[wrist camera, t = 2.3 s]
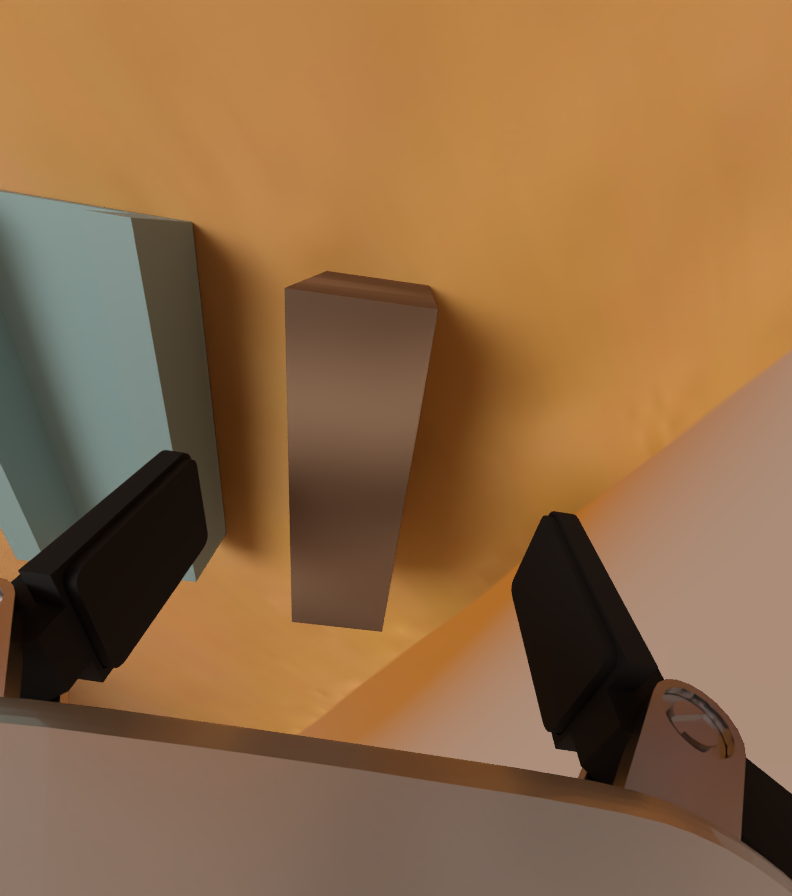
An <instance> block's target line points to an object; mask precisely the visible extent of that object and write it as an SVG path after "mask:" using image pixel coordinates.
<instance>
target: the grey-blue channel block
mask: <svg viewBox="0 0 792 896" xmlns="http://www.w3.org/2000/svg"><path fill="white" fill-rule="evenodd" d="M163 450H170V451H176V452H183V453H187V454H189V455H190V456H191V459H192V460H195V461H196V463H197V468H198V474H199V480H200V487H201V493H202V499H203V506H204V512H205V519H206V525H207V531H208V538H207V542H206V545H205V547H204V548H203V550H202V551H201V553H200V554H199V555H198V557H197V558H196V560H195V561H194V563H193V564H192V566H191V567H190V568H189V570H188V571H187V573H186V574H185V576H184V577H183V578H182V580H185V581H193V582H196V581H197V580H198V578H199V576H200V575H201V573H202V572H203V570H204V568H205V567H206V565H207V564H208V562H209V560H210V559H211V557H212V556H213V554H214V552H215V551H216V549H217V548H218V546H219V544H220V543H221V541H222V540H223V538H224V536H225V535H226V527H225V518H224V509H223V500H222V490H221V481H220V472H219V463H218V454H217V445H216V436H215V426H214V417H213V408H212V399H211V390H210V381H209V372H208V362H207V353H206V344H205V335H204V326H203V317H202V307H201V298H200V289H199V280H198V271H197V262H196V253H195V243H194V234H193V225H192V222H188V221H182V220H176V219H170V218H164V217H158V216H153V215H147V214H141V213H135V212H129V211H123V210H117V209H111V208H105V207H99V206H93V205H87V204H81V203H75V202H69V201H63V200H57V199H51V198H45V197H40V196H34V195H28V194H22V193H16V192H10V191H4V190H0V527H1V529H2V531H3V533H4V535H5V537H6V539H7V541H8V543H9V545H10V547H11V549H12V551H13V553H14V555H15V557H16V559H20V560H27V561H30V560H31V559H33V558H34V557H35V556H36V555H37V554H39V553H40V552H41V551H42V550H43V549H45V548H46V547H47V546H48V545H49V544H50V543H52V542H53V541H54V540H55V539H56V538H58V537H59V536H60V535H61V534H62V533H64V532H65V531H66V530H67V529H68V528H70V527H71V526H72V525H73V524H74V523H76V522H77V521H78V520H79V519H80V518H82V517H83V516H84V515H85V514H86V513H88V512H89V511H90V510H91V509H92V508H94V507H95V506H96V505H97V504H98V503H100V502H101V501H102V500H103V499H104V498H106V497H107V496H108V495H109V494H110V493H112V492H113V491H114V490H115V489H116V488H118V487H119V486H120V485H121V484H122V483H124V482H125V481H126V480H127V479H128V478H129V477H131V476H132V475H133V474H134V473H135V472H137V471H138V470H139V469H140V468H141V467H143V466H144V465H145V464H146V463H147V462H149V461H150V460H151V459H152V458H153V457H155V456H156V455H157V454H158V453H159V452H161V451H163Z"/></svg>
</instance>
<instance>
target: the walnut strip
mask: <svg viewBox="0 0 792 896" xmlns="http://www.w3.org/2000/svg"><path fill="white" fill-rule="evenodd" d="M437 314H438V308H437V305H436V302H435V300H434V297H433V295H432V292H431V290H430V287H429V286H428V285H421V284H414V283H407V282H400V281H393V280H386V279H379V278H372V277H365V276H358V275H351V274H344V273H337V272H330V271H326V272H323V273H321V274H318V275H316V276H313V277H311V278H308V279H306V280H303V281H301V282H298V283H296V284H293V285H291V286H288V287H286V288H285V326H286V371H287V416H288V462H289V507H290V553H291V598H292V622H299V623H308V624H317V625H326V626H335V627H344V628H353V629H362V630H371V631H381V632H382V628H383V623H384V617H385V611H386V606H387V600H388V594H389V588H390V583H391V577H392V571H393V566H394V560H395V554H396V548H397V543H398V537H399V531H400V526H401V520H402V514H403V508H404V503H405V497H406V491H407V485H408V480H409V474H410V468H411V463H412V457H413V451H414V445H415V440H416V434H417V428H418V423H419V417H420V411H421V405H422V400H423V394H424V388H425V383H426V377H427V371H428V365H429V360H430V354H431V348H432V342H433V337H434V331H435V325H436V320H437Z"/></svg>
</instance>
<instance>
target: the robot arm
mask: <svg viewBox="0 0 792 896" xmlns="http://www.w3.org/2000/svg"><path fill="white" fill-rule="evenodd" d="M207 538H208V531H207V525H206V519H205V512H204V506H203V499H202V493H201V487H200V480H199V474H198V468H197V463H196V461H195V460H192V459H191V456H190V455H189V454H187V453H183V452H176V451H170V450H163V451H161V452H159V453H158V454H157V455H156V456H155V457H153V458H152V459H151V460H150V461H149V462H147V463H146V464H145V465H144V466H143V467H141V468H140V469H139V470H138V471H137V472H135V473H134V474H133V475H132V476H131V477H129V478H128V479H127V480H126V481H125V482H124V483H122V484H121V485H120V486H119V487H118V488H116V489H115V490H114V491H113V492H112V493H110V494H109V495H108V496H107V497H106V498H104V499H103V500H102V501H101V502H100V503H98V504H97V505H96V506H95V507H94V508H92V509H91V510H90V511H89V512H88V513H86V514H85V515H84V516H83V517H82V518H80V519H79V520H78V521H77V522H76V523H74V524H73V525H72V526H71V527H70V528H68V529H67V530H66V531H65V532H64V533H62V534H61V535H60V536H59V537H58V538H56V539H55V540H54V541H53V542H52V543H50V544H49V545H48V546H47V547H46V548H45V549H43V550H42V551H41V552H40V553H39V554H37V555H36V556H35V557H34V558H33V559H31V560H30V561H29V562H28V563H27V564H25V565H24V566H23V567H22V568H21V569H19V570H18V571H19V573H20V575H19V576H18V577H17V578H15V579H14V580H13V581H12V582H11V583H10V582H9V581H8V580H6V579H2V578H0V896H792V794H791V793H790V792H788V791H787V790H786V789H785V788H783V787H782V786H781V785H779V784H778V783H777V782H776V781H775V780H773V779H772V778H771V777H770V776H768V775H767V774H766V773H765V772H763V771H762V770H761V769H760V768H758V767H757V766H756V765H755V764H753V763H752V762H751V761H750V760H748V759H747V758H746V754H745V747H744V743H743V740H742V738H741V736H740V734H739V731H738V729H737V728H736V727H735V725H734V724H733V722H732V721H731V719H730V718H729V716H728V715H727V714H726V713H725V712H724V711H723V710H722V709H721V708H720V707H719V705H718V704H717V703H716V702H714V701H713V700H712V699H710V698H709V697H708V696H707V695H706V694H704V693H703V692H702V691H700V690H698V689H697V688H695V687H693V686H692V685H689V684H687V683H684V682H682V681H679V680H673V679H665V680H664V679H663V677H662V675H661V673H660V671H659V669H658V666H657V664H656V663H655V661H654V659H653V657H652V655H651V653H650V651H649V650H648V647H647V646H646V644H645V642H644V641H643V638H642V637H641V634H640V633H639V631H638V629H637V627H636V625H635V623H634V621H633V620H632V618H631V616H630V614H629V612H628V610H627V608H626V607H625V605H624V603H623V601H622V599H621V597H620V595H619V594H618V592H617V590H616V588H615V586H614V584H613V582H612V580H611V579H610V577H609V575H608V573H607V571H606V569H605V567H604V566H603V564H602V562H601V560H600V558H599V556H598V555H597V553H596V551H595V549H594V547H593V545H592V543H591V541H590V540H589V538H588V536H587V534H586V532H585V530H584V528H583V527H582V525H581V523H580V521H579V519H578V518H577V516H576V515H574V514H568V513H562V512H555V511H553V512H551V513H550V514H549V515H548V516H543V517H542V519H541V521H540V523H539V525H538V527H537V530H536V532H535V534H534V536H533V538H532V540H531V543H530V545H529V547H528V549H527V551H526V553H525V556H524V558H523V560H522V562H521V564H520V566H519V569H518V571H517V573H516V575H515V577H514V579H513V582H512V589H511V590H512V597H513V601H514V605H515V609H516V613H517V617H518V622H519V626H520V630H521V634H522V638H523V642H524V647H525V651H526V655H527V658H528V663H529V667H530V671H531V676H532V680H533V684H534V688H535V692H536V696H537V700H538V704H539V709H540V712H541V717H542V721H543V724H544V727H545V729H546V730H547V731H548V732H551V733H552V737H553V740H554V744H555V748H556V749H561V750H568V751H575V752H577V754H578V758H579V761H580V764H581V766H582V769H581V772H580V774H579V777H578V778H572V777H566V776H560V775H555V774H549V773H543V772H537V771H532V770H525V769H520V768H514V767H507V766H501V765H494V764H487V763H481V762H474V761H468V760H460V759H454V758H447V757H441V756H434V755H428V754H421V753H414V752H408V751H401V750H394V749H387V748H380V747H374V746H367V745H361V744H353V743H347V742H340V741H333V740H326V739H319V738H313V737H306V736H299V735H292V734H285V733H278V732H271V731H264V730H257V729H250V728H243V727H236V726H229V725H222V724H215V723H208V722H201V721H194V720H186V719H179V718H172V717H165V716H158V715H151V714H143V713H136V712H129V711H122V710H115V709H107V708H99V707H91V706H82V705H74V704H69V692H68V691H69V690H70V688H71V687H72V686H73V684H74V683H75V682H76V681H77V679H83V680H90V681H97V682H104V680H105V679H106V678H107V676H108V675H109V673H110V672H111V671H112V669H113V668H117V667H119V666H121V665H122V664H123V663H124V661H125V660H126V659H127V658H128V656H129V655H130V653H131V652H132V650H133V649H134V647H135V646H136V645H137V643H138V642H139V640H140V639H141V637H142V636H143V635H144V633H145V632H146V630H147V629H148V627H149V626H150V624H151V623H152V622H153V620H154V619H155V617H156V616H157V614H158V613H159V612H160V610H161V609H162V607H163V606H164V604H165V603H166V601H167V600H168V599H169V597H170V596H171V594H172V593H173V591H174V590H175V589H176V587H177V586H178V584H179V583H180V581H181V580H182V578H183V577H184V576H185V574H186V573H187V571H188V570H189V568H190V567H191V566H192V564H193V563H194V561H195V560H196V558H197V557H198V555H199V554H200V553H201V551H202V550H203V548H204V547H205V545H206V542H207Z"/></svg>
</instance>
